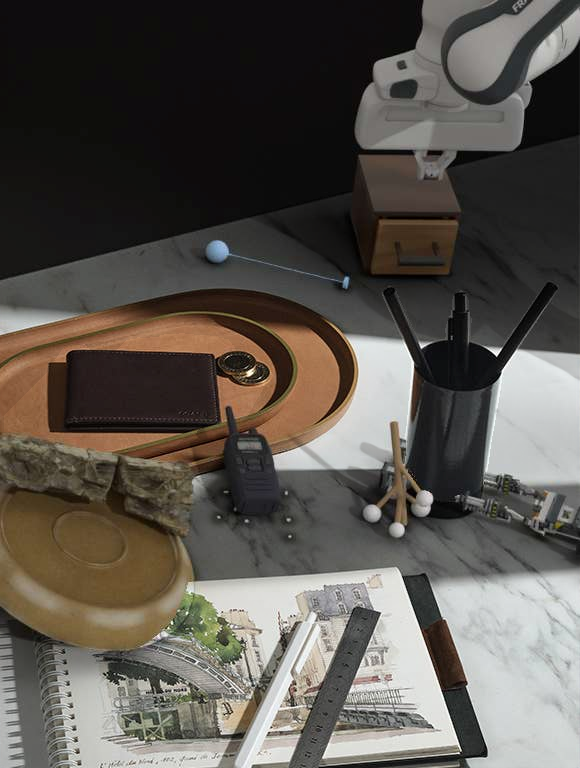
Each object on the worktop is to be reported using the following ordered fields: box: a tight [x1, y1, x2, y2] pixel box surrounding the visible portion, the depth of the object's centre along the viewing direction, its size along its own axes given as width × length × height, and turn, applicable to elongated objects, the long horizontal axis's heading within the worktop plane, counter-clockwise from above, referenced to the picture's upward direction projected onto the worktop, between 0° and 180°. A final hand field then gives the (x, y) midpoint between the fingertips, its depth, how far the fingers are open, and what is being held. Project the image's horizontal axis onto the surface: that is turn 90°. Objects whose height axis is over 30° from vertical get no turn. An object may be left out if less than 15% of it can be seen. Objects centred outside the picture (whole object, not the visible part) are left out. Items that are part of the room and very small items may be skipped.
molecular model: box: [205, 239, 350, 290], centre depth 173 cm, size 3×20×3 cm, turn 68°
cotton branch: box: [362, 420, 434, 539], centre depth 136 cm, size 7×6×12 cm
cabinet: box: [349, 154, 463, 274], centre depth 177 cm, size 16×12×10 cm
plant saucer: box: [0, 481, 195, 652], centre depth 127 cm, size 24×24×3 cm
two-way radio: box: [222, 405, 283, 516], centre depth 142 cm, size 6×4×15 cm
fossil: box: [0, 433, 196, 539], centre depth 128 cm, size 22×7×10 cm
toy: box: [378, 437, 580, 557], centre depth 136 cm, size 8×7×30 cm
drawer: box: [371, 216, 459, 276], centre depth 173 cm, size 19×10×8 cm, turn 0°
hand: (429, 178), depth 161 cm, fingers closed
